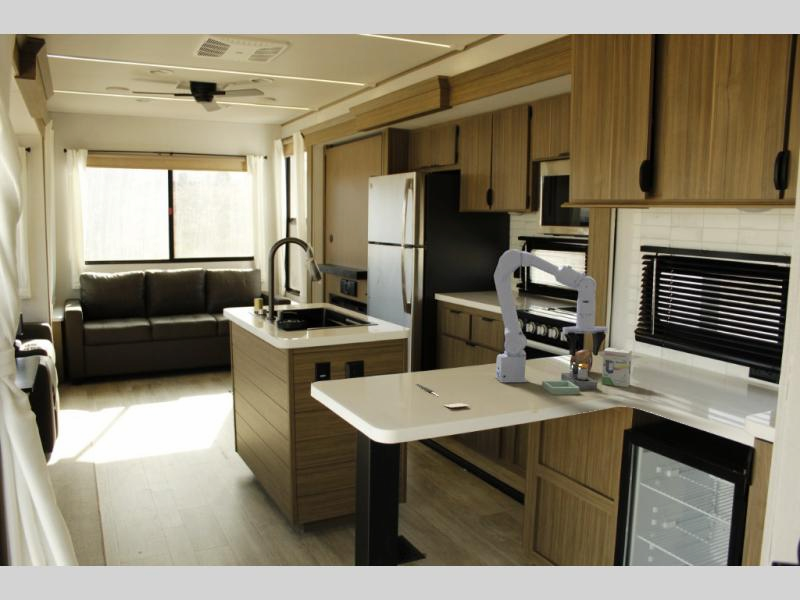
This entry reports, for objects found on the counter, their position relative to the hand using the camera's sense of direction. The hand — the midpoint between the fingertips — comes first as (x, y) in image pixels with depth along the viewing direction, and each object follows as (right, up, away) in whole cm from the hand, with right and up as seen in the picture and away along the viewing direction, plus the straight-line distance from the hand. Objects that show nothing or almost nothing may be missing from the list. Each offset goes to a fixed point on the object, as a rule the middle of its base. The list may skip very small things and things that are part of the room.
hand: (584, 355), depth 222 cm
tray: (-9, -11, -4) cm, 15 cm away
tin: (+4, -9, +20) cm, 22 cm away
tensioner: (-1, -10, +4) cm, 11 cm away
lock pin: (0, -11, +1) cm, 11 cm away
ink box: (+12, -11, +6) cm, 17 cm away
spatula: (-49, -12, -15) cm, 52 cm away
